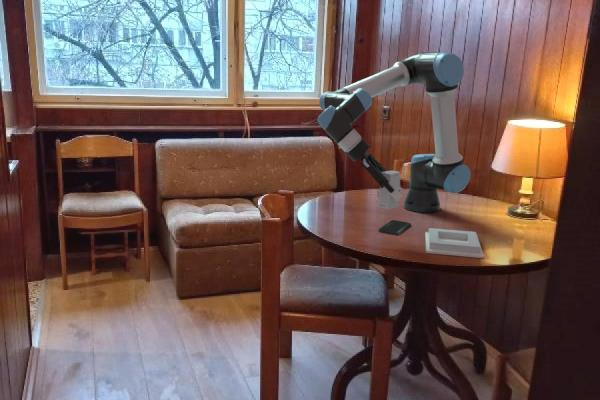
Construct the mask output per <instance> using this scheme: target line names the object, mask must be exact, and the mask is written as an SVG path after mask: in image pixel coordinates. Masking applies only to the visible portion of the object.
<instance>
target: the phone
mask: <svg viewBox="0 0 600 400" xmlns="http://www.w3.org/2000/svg"><path fill="white" fill-rule="evenodd" d="M411 225H412V224H411V222H406V221H401V220H397V219H396V220H395V219H393V220H390V221H389V222H387V223H386V224H384V225H382V226H381V227H379V228H378V232H379V233H382V234H383V233H384V234H388V235H393V236H400V234H402V233H403V232H404V231H405V230H407V229H408V228H410V227H411Z"/></svg>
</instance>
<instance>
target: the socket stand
mask: <svg viewBox="0 0 600 400" xmlns="http://www.w3.org/2000/svg"><path fill="white" fill-rule="evenodd" d="M424 236H425V237H424V238H425V239H424V241H425V253H426V254H433V255H434V254H435V255H444V256H445V255H446V256H455V257H457V256H458V257H465V258H466V257H467V258H477V259H478V258H479V259H485V255H484V252H483V249H482V247H481V243H480V240H479V238H478V234H477V232H476V231H470V230H469V231H468V230H458V229H443V228H435V227H434V228H433V227H429V228H428V231H425V232H424Z"/></svg>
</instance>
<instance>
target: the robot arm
mask: <svg viewBox="0 0 600 400" xmlns="http://www.w3.org/2000/svg"><path fill="white" fill-rule="evenodd" d="M464 68H465V67H464V63H463V61H462V59H461V58H460V57H459V56H458V55H457V54H455V53H452V52H447V51H435V52H434V51H433V52H428V51H426V52H425V51H422V52H420V53H419V52H418V53H415V54H413V55H410V56H408V57H405V58H404V59H401V60H398V61H396V62H395V63H393V65H392V66H391V67H389V68H387V69H385V70H382V71H380V72H378V73H375V74H373V75H371V76H367V77H366V78H363V79H360V80H357V81H356V82H354V83H352V84H350V85H347V86H344V87H342V88H340V89H337V90H334V91H331V90H329V91H325V92H323V93H322V94H321V95H320V97H319V100H318V102H319V103H318V104H319V107H320V108H321V110H322V112H321V113H320V114H319V115H318V117H317V119H316V120H317V123H318V125H319V126H320V127H321V128H322V129H323V130H324V131H325V132H326V134H327V135H328V136H330V138H331V139H332V140H334V142H335V143H336V144H337V145H338V149H340V150H342V151H343V152H344V153H346V155H347V156H348V158H350V159H351V161H352V162H356V161H357V160H358V159H359V160H360V161H361V166H362V167H363V168H364V169H365V170H366V171H367V172H368V174H370V176H371V177H372V178H373V179H374V180H375V181H376V183H377V184H378V185H379V189H380V188H383V187H384V188H385V189H386V190H387V192H388V193H389V194H390V195H391V196H392V197H393V198H394V199H395V200H396V201H398V200H399V201H400V199H401V198H403V197H404V196H403V194H402V193H403V191H404V189H403V188H402V187H401V186H400V192H399V191H398V190H397V189H396V188H395V187H394V186H393V184H392V183H391V182H390V181H388V180H387V179H386V178H385V176H384V175H383V174H382V173H381V172H385V171H388V170H387V169H386V168H385V167H384V166H383V165H382V164H381V163H380V162H379V161H378V160H377V159H376V158H375V157H374V155H373V154H372V153H368V152H367V151H368V150H369V149H370V144H368V142H366V141H365V139H362V136H361V135H360V133H359V132H358V131H357V130H356V129H355V128H354V127H353V126H352V124H354V122H356V121H357V120H358V119H359V118H360V117H361V116H362V115H363V114H364V113H365V112H367V110H368V109H369V108H370V107H371V106H372V105H373V98H375V97H377V96H379V95H381V94H384V93H386V92H389V91H390V90H393V89H396V88H398V87H406V86H408V85H409V86H410V85H412V84H413V85H414V84H420V85H421V84H423V85H425V86H424V87H425V93H427V94H428V95H429V96H430V104H431V105H430V106H431V116H432V117H431V118H432V119H431V120H432V127H433V129H432V130H433V138H434V149H435V150H434V151H435V153H421V154H414V155H413V156H412V157H411V161H410V169H409V187H408V191H407V193H406V195H405V198H404V200H403V208H404V209H406V210H408V211H413V212H415V213H436V212H439V211H440V210H441V202H440V197H439V193H438V190H441V191H444V192H446V193H453V194H457V193H460V192H462V191H463V190H464V189H465V188H466V187H467V185H468V184H469V182H470V180H471V169H470V167H468V165H466V164H464V157H463V155H461V153H459V144H458V143H459V141H458V129H457V128H458V126H457V113H456V103H455V101H456V100H455V92H456V90H457V89H459V84H460V82H462V78H463V77H464V71H465V69H464ZM380 186H381V187H380Z"/></svg>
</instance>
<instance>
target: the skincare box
mask: <svg viewBox="0 0 600 400" xmlns="http://www.w3.org/2000/svg"><path fill="white" fill-rule="evenodd" d="M381 173H382V174H383V175H384V176H385V178H386V179H387V180H388V181H390V182H391V183H392V184H393V186H394V187H395V188H396V189H397V190H398V191H399V192H400V187H401V174H402V172H400V171H397V170H391V169H390V170H387V171H385V172H381ZM380 187H381V186H380V185H379V201H378V207H379V208H382V209H386V210H390V209H395V208H397V207H399V204H400V199H399V200H398V201H396V200H395V199H394V198H393V197H392V196H391V195H390V194H389V193H388V192H387V190H386V189H385V188H384V187H383V188H380Z"/></svg>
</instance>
